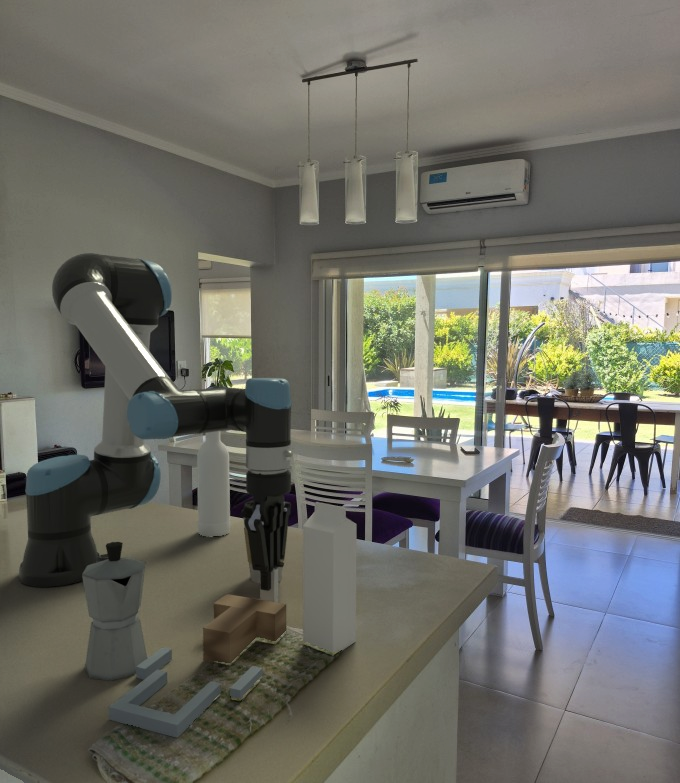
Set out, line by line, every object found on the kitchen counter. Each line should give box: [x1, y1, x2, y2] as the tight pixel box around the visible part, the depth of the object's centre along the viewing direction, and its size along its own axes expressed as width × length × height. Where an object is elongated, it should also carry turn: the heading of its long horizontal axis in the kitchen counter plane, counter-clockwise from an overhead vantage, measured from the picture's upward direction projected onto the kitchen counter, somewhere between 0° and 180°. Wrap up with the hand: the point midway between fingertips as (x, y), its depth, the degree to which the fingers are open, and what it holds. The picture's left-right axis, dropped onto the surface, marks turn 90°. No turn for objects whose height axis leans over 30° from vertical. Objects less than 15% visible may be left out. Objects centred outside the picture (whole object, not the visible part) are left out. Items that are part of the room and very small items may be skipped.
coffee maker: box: [82, 541, 148, 682], centre depth 90 cm, size 15×9×18 cm, turn 33°
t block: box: [202, 593, 287, 663], centre depth 95 cm, size 11×12×5 cm
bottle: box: [196, 431, 231, 537], centre depth 152 cm, size 8×8×30 cm
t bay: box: [108, 647, 263, 739], centre depth 81 cm, size 17×15×2 cm
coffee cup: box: [240, 499, 291, 584], centre depth 123 cm, size 10×10×15 cm
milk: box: [302, 501, 357, 653], centre depth 95 cm, size 6×6×22 cm
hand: (269, 605), depth 105 cm, fingers closed
